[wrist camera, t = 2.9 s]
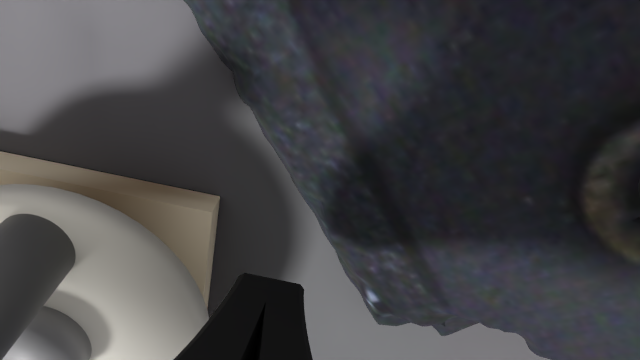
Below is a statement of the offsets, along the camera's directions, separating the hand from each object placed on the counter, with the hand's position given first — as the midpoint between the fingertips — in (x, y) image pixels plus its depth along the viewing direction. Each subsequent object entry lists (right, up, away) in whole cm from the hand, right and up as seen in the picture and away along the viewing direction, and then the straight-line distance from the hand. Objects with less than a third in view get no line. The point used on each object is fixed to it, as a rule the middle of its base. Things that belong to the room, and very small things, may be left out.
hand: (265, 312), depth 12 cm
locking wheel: (-6, -1, +3) cm, 6 cm away
